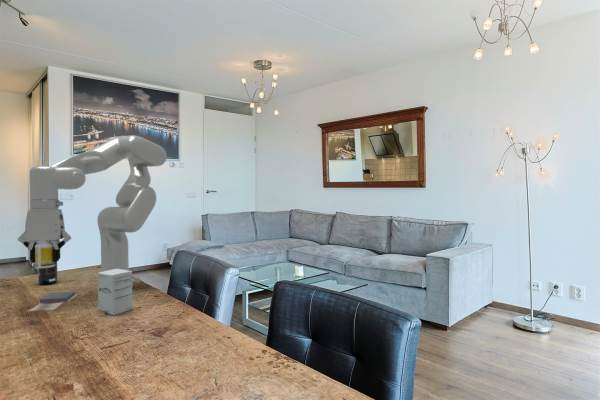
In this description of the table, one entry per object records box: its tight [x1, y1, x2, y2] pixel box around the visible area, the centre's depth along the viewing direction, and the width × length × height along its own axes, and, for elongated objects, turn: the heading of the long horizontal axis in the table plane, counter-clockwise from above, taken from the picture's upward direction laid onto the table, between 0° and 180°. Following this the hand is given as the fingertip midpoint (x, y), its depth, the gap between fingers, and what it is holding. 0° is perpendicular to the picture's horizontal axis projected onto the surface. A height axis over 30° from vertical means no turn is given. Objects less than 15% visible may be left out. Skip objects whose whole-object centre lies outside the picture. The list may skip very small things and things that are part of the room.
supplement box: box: [97, 269, 133, 316], centre depth 123 cm, size 7×7×13 cm
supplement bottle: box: [34, 240, 55, 269], centre depth 124 cm, size 5×5×10 cm
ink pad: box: [39, 291, 76, 303], centre depth 133 cm, size 8×8×1 cm
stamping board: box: [23, 294, 77, 314], centre depth 128 cm, size 9×18×1 cm, turn 12°
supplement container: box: [37, 261, 59, 286], centre depth 157 cm, size 7×7×10 cm
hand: (45, 261), depth 124 cm, fingers closed on supplement bottle, 5 cm apart
